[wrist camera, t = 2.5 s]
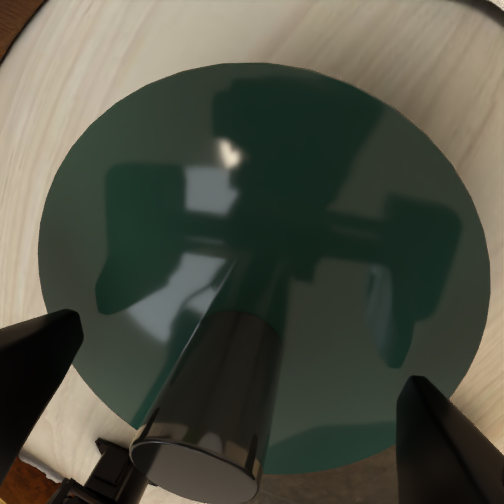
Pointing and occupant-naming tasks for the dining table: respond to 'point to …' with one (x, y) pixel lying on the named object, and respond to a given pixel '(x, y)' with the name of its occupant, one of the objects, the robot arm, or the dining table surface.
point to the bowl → (336, 484)
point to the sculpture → (14, 19)
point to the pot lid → (261, 272)
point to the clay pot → (26, 485)
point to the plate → (497, 4)
